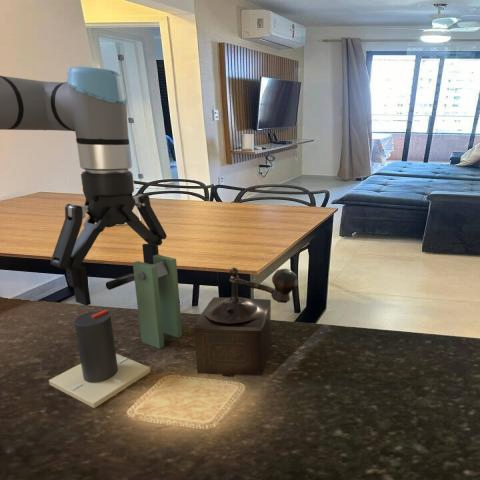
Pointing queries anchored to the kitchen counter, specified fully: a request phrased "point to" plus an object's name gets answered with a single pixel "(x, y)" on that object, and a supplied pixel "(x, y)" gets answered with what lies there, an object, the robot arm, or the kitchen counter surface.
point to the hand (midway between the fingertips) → (120, 289)
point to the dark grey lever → (130, 277)
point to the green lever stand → (157, 301)
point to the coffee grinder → (239, 328)
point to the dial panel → (99, 391)
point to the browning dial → (96, 346)
